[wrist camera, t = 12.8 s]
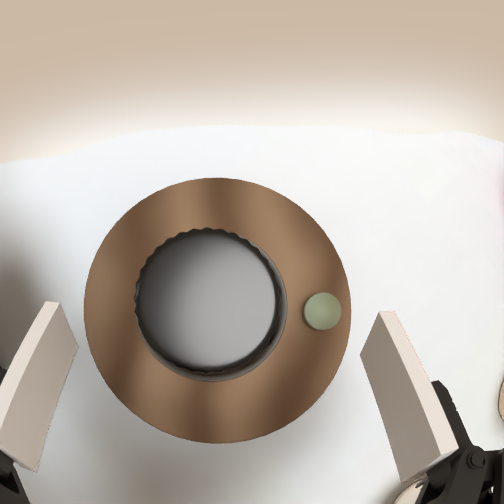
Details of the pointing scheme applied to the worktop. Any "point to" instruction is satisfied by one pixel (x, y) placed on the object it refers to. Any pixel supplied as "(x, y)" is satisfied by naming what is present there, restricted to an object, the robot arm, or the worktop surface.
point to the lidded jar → (409, 494)
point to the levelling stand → (283, 356)
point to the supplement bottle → (210, 305)
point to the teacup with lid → (501, 402)
